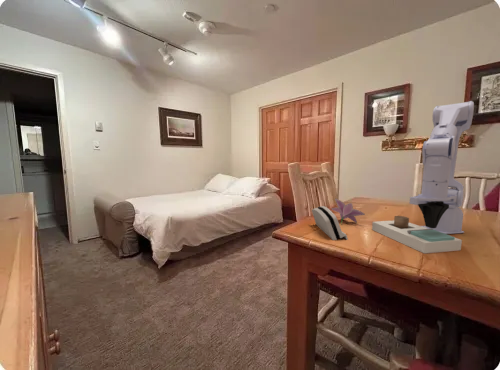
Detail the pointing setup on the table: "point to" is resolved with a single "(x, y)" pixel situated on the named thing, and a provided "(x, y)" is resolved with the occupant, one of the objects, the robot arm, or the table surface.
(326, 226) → the grey curved piece
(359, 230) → the table surface
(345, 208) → the lily
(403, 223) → the peg
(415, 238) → the tray
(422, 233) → the teal flap lid
